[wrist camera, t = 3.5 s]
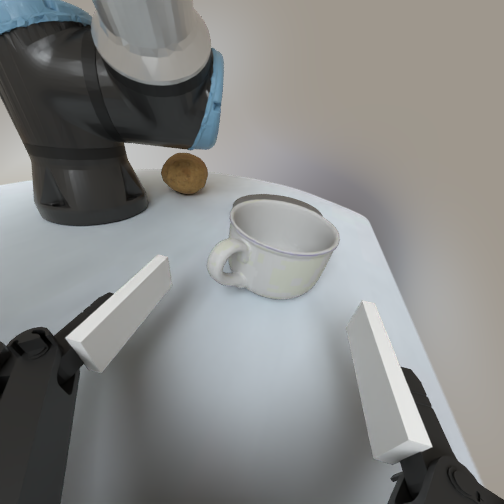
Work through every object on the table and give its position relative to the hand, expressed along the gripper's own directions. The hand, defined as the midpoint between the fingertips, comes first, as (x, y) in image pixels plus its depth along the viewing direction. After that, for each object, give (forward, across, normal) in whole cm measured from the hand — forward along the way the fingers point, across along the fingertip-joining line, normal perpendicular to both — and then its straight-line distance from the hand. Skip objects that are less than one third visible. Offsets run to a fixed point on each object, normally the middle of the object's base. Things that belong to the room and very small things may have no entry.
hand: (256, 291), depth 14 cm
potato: (+32, -22, -6) cm, 40 cm away
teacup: (+7, 0, -6) cm, 10 cm away
